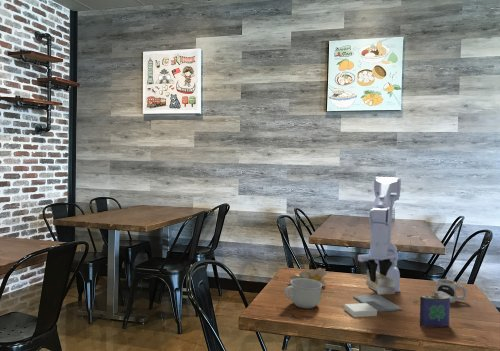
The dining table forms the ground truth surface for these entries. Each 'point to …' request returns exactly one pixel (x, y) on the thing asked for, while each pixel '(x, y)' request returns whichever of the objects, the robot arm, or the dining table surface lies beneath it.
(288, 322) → the dining table surface
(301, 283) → the teacup
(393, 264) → the robot arm
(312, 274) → the decorative flower
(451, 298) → the mug
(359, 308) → the tile
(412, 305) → the dining table surface
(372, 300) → the mat
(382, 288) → the pusher
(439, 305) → the flask
